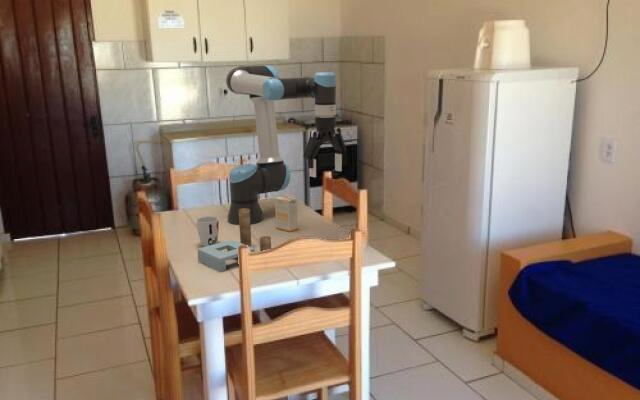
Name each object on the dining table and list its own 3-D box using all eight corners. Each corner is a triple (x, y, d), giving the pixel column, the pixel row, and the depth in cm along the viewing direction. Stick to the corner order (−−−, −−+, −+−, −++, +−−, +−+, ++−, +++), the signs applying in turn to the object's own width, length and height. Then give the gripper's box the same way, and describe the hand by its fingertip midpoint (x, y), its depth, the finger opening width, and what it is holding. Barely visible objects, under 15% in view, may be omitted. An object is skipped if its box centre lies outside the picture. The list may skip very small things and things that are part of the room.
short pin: (258, 253, 199) (257, 237, 198) (266, 251, 202) (266, 235, 200) (264, 256, 196) (264, 240, 195) (273, 253, 199) (273, 237, 198)
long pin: (238, 246, 208) (236, 209, 204) (247, 243, 210) (245, 207, 207) (244, 248, 205) (242, 211, 201) (253, 245, 208) (251, 209, 204)
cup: (209, 249, 204) (207, 223, 202) (193, 246, 208) (191, 220, 206) (224, 243, 211) (223, 218, 208) (208, 240, 215) (206, 215, 212)
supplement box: (298, 229, 226) (297, 198, 223) (289, 232, 223) (288, 200, 219) (284, 225, 231) (283, 195, 228) (275, 228, 228) (274, 197, 225)
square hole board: (198, 261, 193) (197, 248, 192) (231, 251, 202) (231, 239, 201) (220, 271, 183) (220, 258, 182) (255, 260, 192) (254, 248, 191)
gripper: (307, 120, 190) (308, 180, 196) (356, 113, 207) (355, 169, 213) (292, 118, 195) (294, 177, 201) (341, 112, 212) (341, 167, 218)
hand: (325, 173), depth 207 cm, fingers open, 13 cm apart
